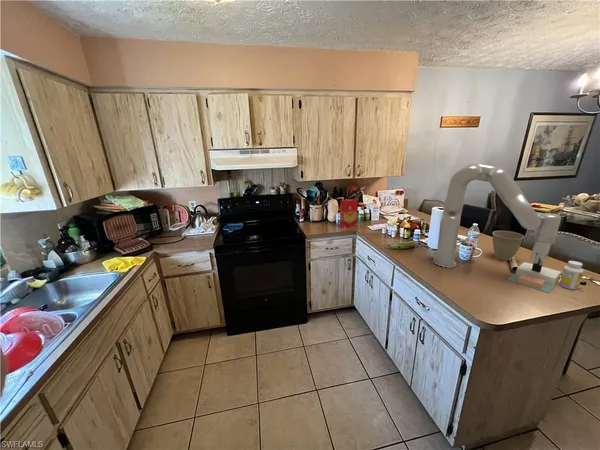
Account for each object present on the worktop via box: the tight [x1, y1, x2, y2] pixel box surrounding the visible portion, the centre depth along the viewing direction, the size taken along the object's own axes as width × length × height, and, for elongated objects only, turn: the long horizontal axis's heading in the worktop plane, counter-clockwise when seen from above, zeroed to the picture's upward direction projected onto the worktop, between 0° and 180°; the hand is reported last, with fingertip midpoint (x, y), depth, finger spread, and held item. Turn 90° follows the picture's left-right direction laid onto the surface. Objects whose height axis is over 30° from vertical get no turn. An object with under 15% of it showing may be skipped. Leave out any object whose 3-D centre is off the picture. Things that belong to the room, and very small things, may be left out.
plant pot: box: [492, 230, 525, 262], centre depth 153 cm, size 15×15×16 cm
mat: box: [507, 273, 556, 294], centre depth 127 cm, size 16×10×1 cm, turn 35°
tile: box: [518, 274, 545, 289], centre depth 126 cm, size 9×6×2 cm, turn 35°
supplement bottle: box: [559, 260, 584, 290], centre depth 121 cm, size 7×7×13 cm
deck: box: [515, 261, 562, 285], centre depth 132 cm, size 15×12×4 cm
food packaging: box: [339, 198, 358, 229], centre depth 228 cm, size 15×5×25 cm, turn 109°
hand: (535, 271), depth 129 cm, fingers closed
